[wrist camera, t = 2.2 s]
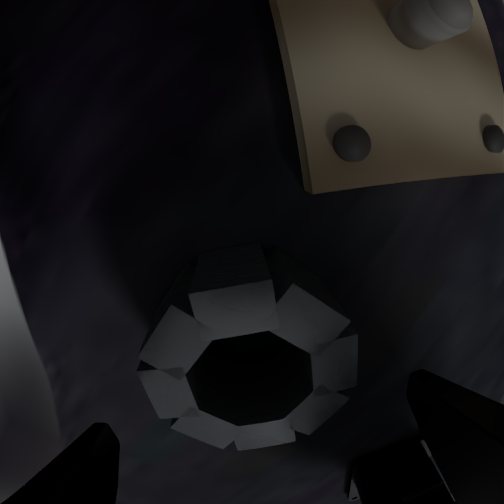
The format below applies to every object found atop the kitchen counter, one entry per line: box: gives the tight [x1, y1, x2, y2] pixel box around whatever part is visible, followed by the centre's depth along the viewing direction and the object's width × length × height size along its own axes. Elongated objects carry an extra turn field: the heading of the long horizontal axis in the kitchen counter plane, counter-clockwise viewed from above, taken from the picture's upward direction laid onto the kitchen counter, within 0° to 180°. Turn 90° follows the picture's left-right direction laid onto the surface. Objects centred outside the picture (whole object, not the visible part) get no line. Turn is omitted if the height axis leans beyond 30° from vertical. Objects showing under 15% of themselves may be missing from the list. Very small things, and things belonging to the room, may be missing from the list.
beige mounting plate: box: [269, 0, 504, 194], centre depth 7 cm, size 12×10×5 cm
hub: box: [137, 242, 358, 451], centre depth 11 cm, size 7×7×4 cm
